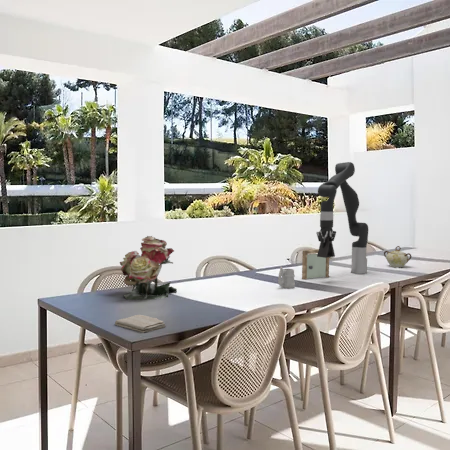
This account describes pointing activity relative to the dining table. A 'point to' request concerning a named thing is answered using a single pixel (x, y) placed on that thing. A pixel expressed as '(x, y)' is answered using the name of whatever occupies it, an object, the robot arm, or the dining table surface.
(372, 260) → the dining table surface
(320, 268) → the door
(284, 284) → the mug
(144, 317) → the washcloth
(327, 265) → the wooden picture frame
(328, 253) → the phone stand
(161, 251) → the rose bouquet
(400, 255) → the sugar bowl
